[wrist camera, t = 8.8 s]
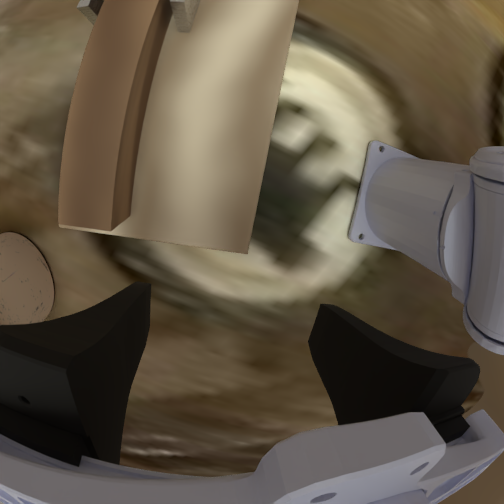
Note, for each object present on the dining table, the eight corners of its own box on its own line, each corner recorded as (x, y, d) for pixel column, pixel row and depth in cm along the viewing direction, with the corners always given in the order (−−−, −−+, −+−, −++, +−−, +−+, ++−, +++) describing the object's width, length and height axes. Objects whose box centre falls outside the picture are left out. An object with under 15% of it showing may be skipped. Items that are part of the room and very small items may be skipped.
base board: (303, -30, 13) (306, -36, 13) (245, 249, 21) (247, 254, 20) (136, -47, 11) (134, -53, 10) (65, 223, 18) (59, 227, 17)
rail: (181, -11, 13) (177, -41, 9) (130, 216, 18) (110, 231, 14) (136, -11, 12) (123, -38, 8) (85, 210, 17) (58, 224, 13)
